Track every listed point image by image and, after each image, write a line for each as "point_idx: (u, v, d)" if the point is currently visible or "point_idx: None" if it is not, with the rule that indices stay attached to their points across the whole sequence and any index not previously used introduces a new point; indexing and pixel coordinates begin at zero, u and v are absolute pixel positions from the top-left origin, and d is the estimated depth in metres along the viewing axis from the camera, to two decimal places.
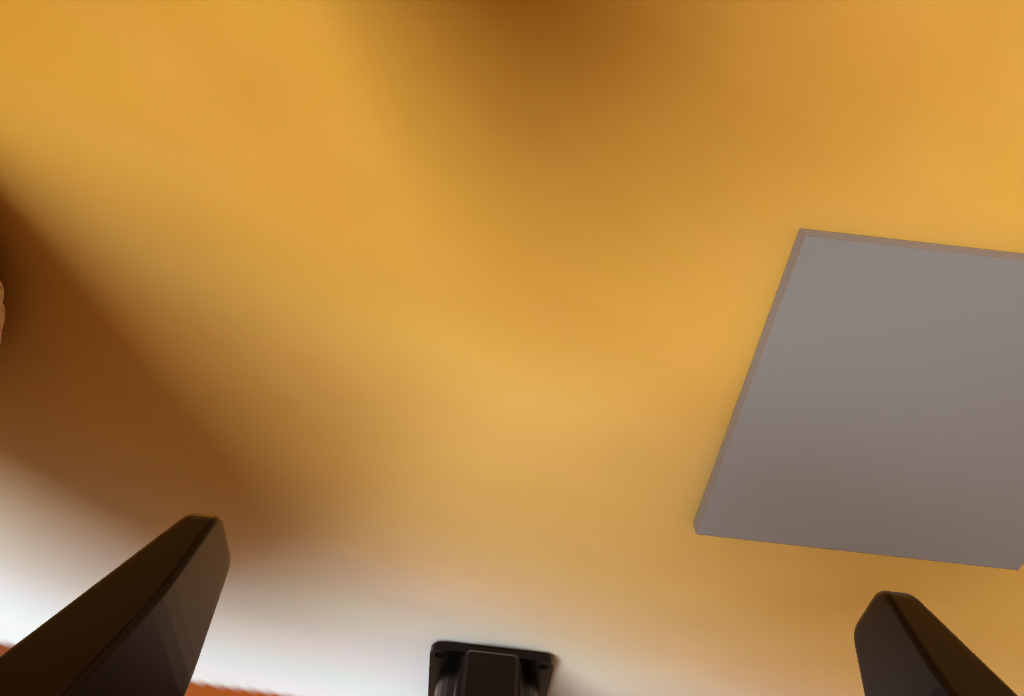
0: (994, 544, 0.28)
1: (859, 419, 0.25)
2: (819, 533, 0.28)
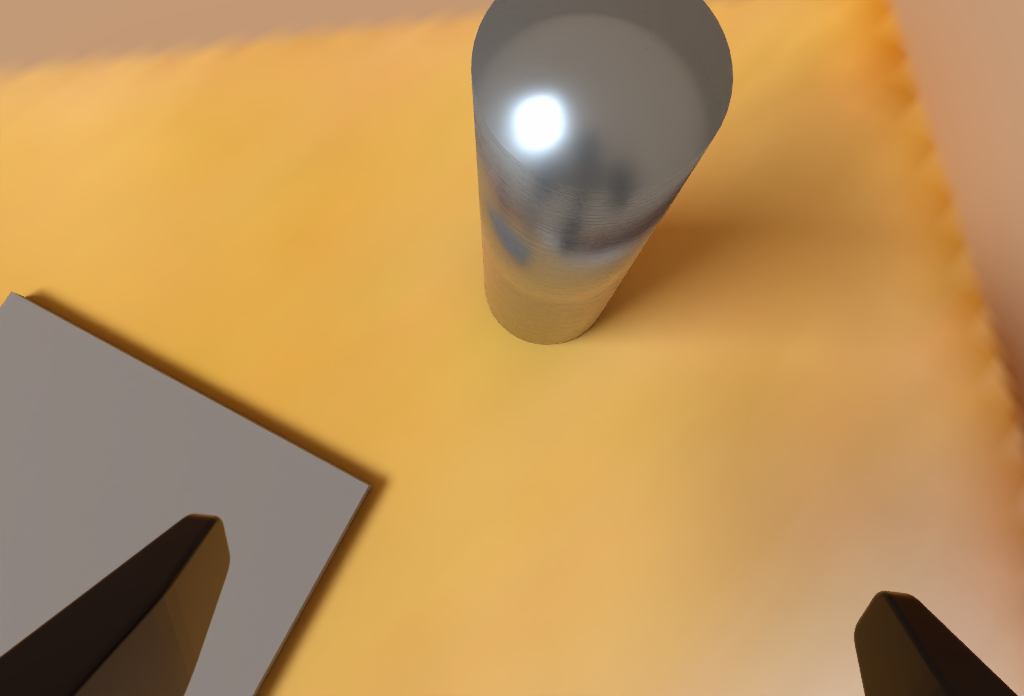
0: (304, 513, 0.22)
1: None
2: None
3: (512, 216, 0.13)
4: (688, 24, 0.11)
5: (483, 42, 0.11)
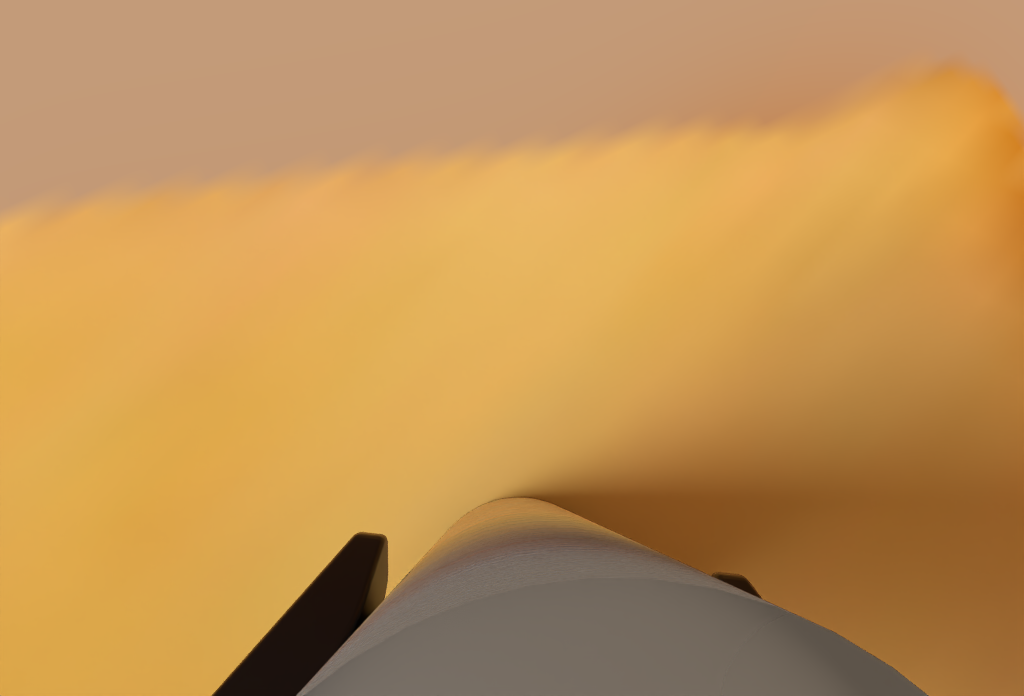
0: None
1: None
2: None
3: None
4: None
5: None
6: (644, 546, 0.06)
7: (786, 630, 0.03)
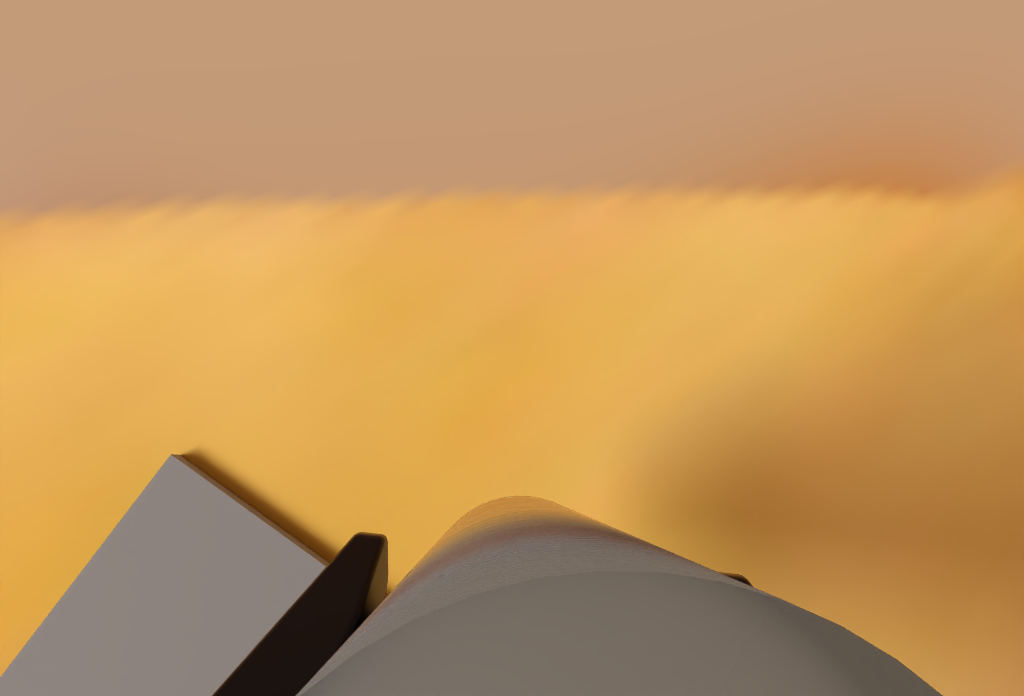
0: None
1: None
2: None
3: None
4: None
5: None
6: (647, 542, 0.06)
7: (792, 622, 0.03)
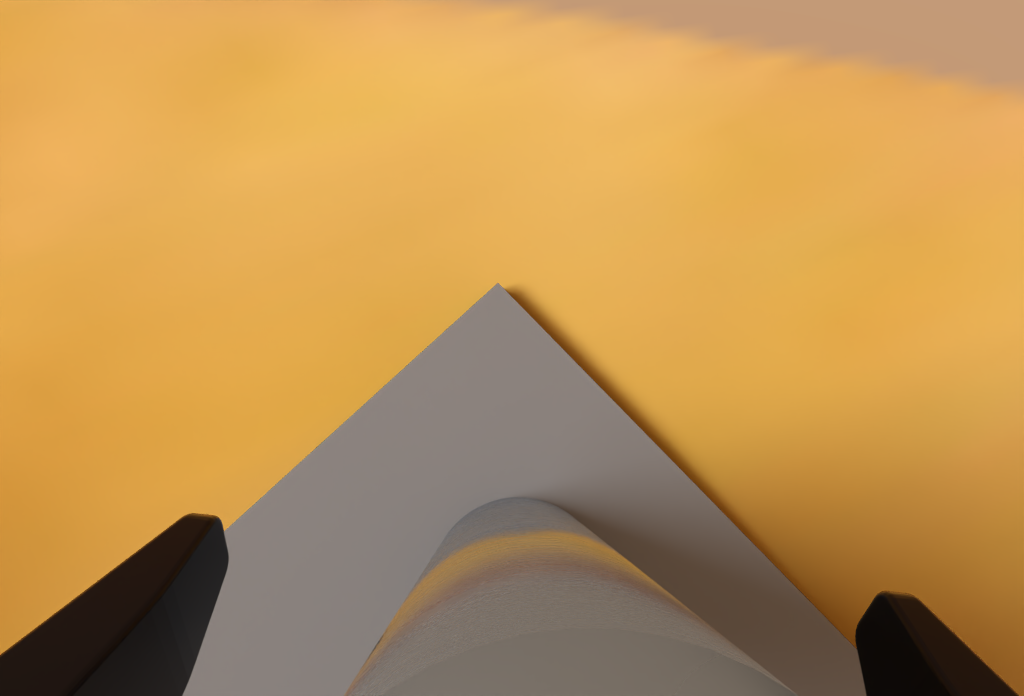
0: (803, 694, 0.16)
1: None
2: None
3: None
4: None
5: None
6: (624, 572, 0.07)
7: (719, 668, 0.04)
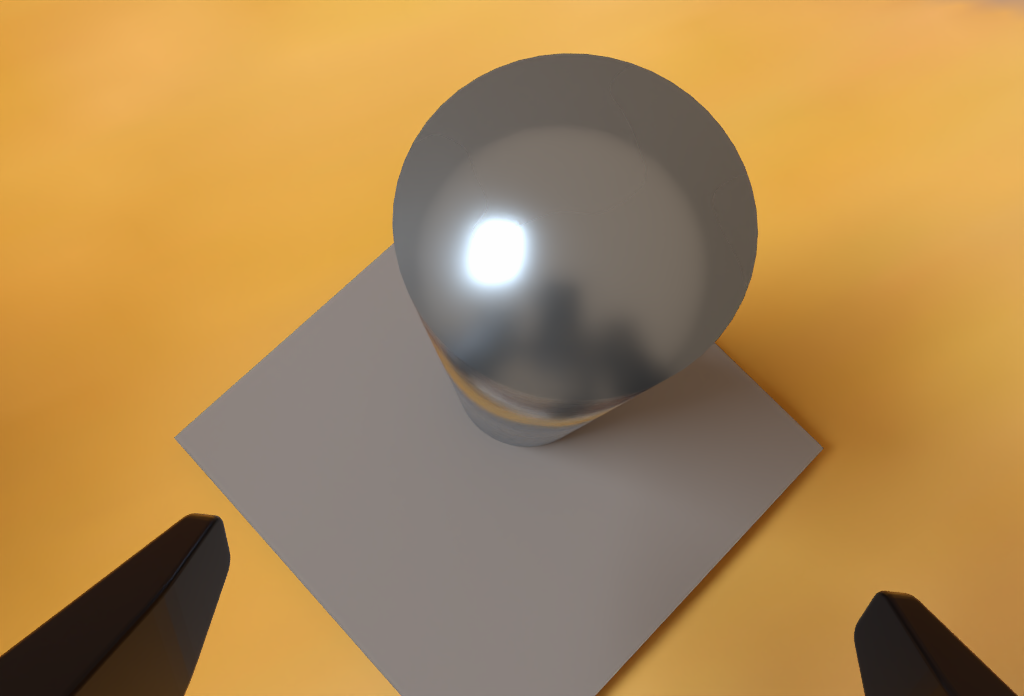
0: (753, 454, 0.21)
1: (436, 502, 0.20)
2: (600, 642, 0.19)
3: (463, 382, 0.10)
4: (693, 153, 0.08)
5: (409, 184, 0.08)
6: None
7: (633, 69, 0.08)
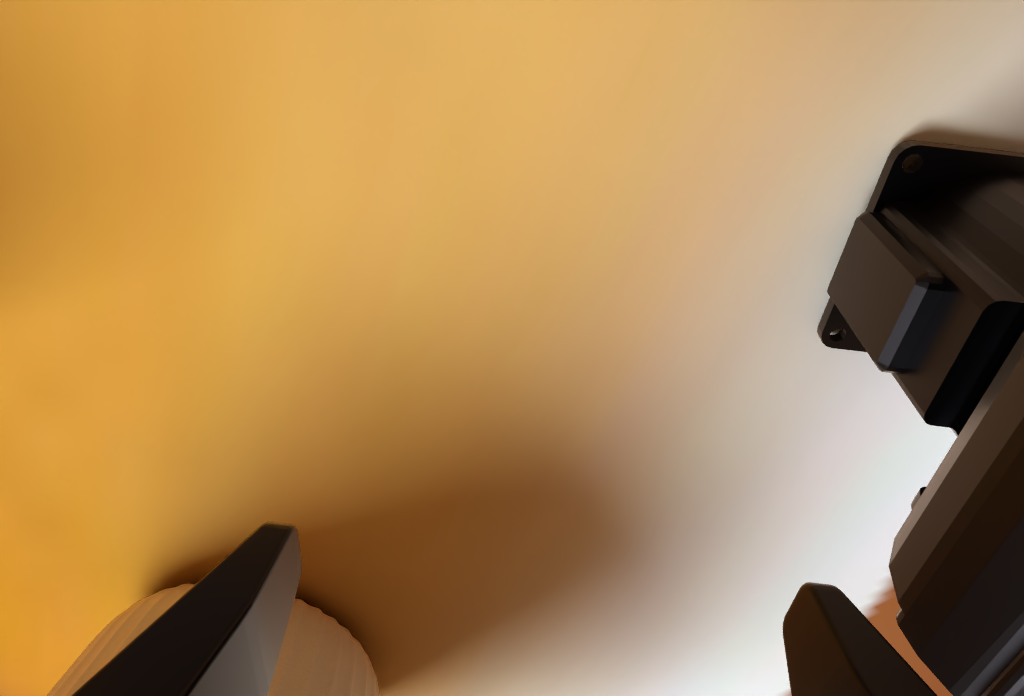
0: None
1: None
2: None
3: None
4: None
5: None
6: None
7: None
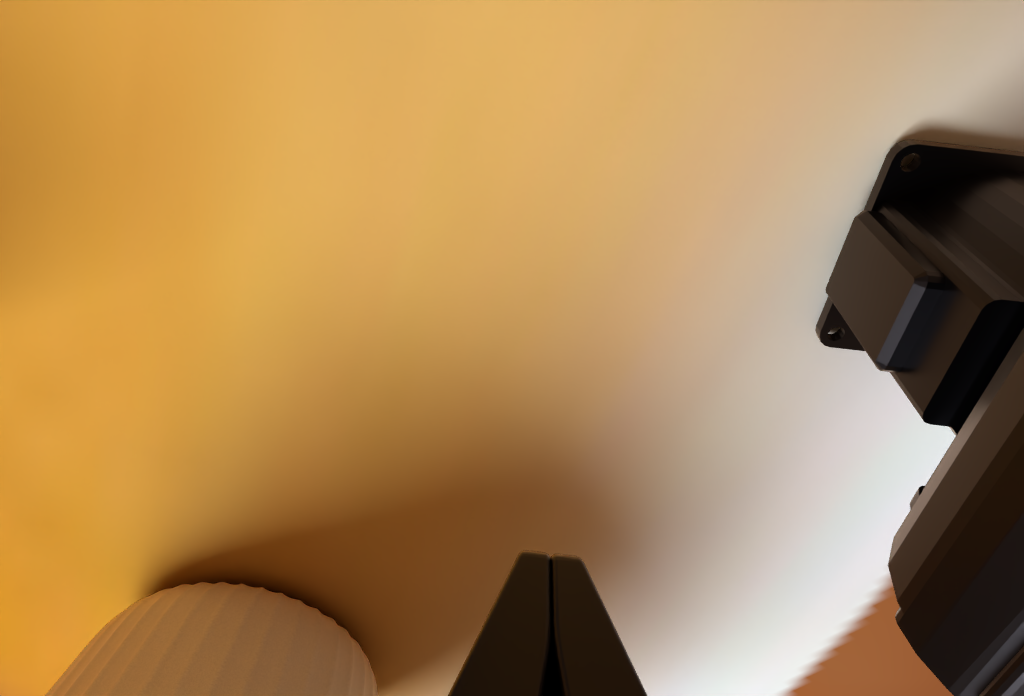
0: None
1: None
2: None
3: None
4: None
5: None
6: None
7: None
